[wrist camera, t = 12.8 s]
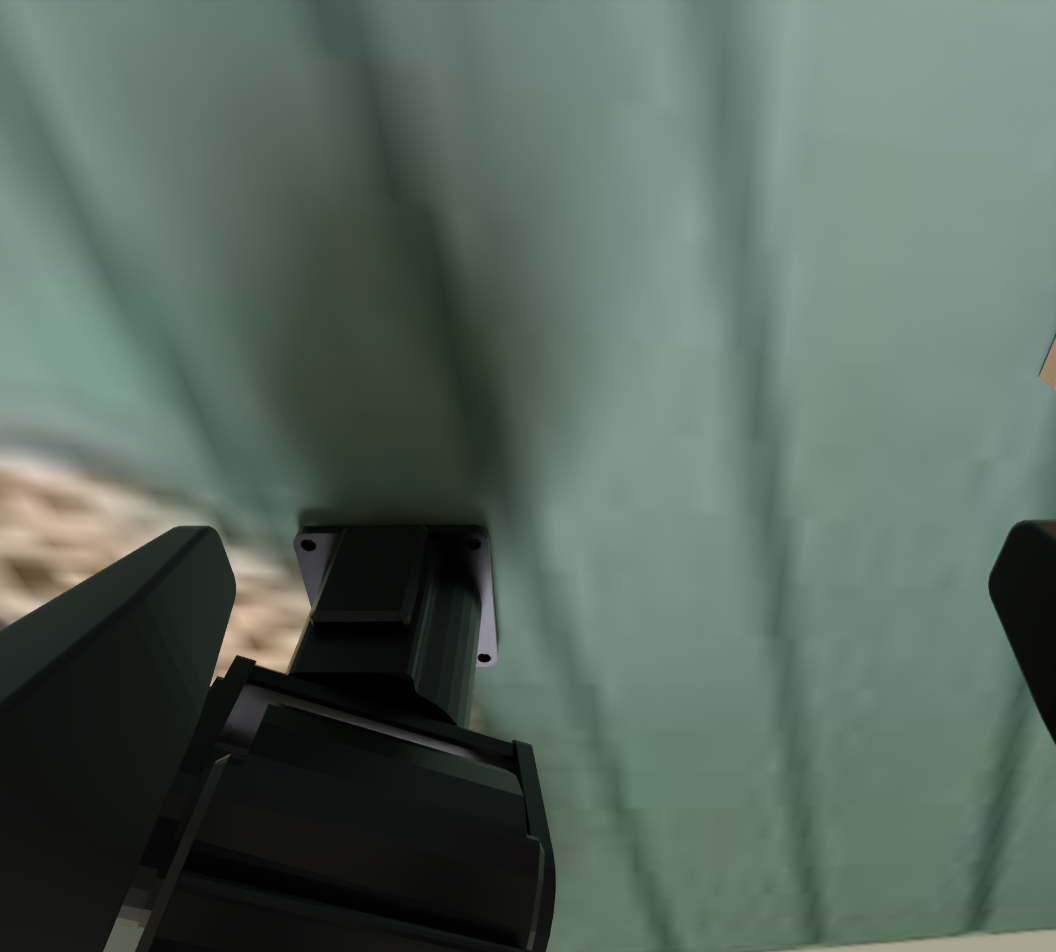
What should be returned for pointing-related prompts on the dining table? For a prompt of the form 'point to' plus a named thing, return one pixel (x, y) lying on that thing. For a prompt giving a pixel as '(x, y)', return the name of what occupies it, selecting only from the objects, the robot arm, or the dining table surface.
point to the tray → (1050, 367)
